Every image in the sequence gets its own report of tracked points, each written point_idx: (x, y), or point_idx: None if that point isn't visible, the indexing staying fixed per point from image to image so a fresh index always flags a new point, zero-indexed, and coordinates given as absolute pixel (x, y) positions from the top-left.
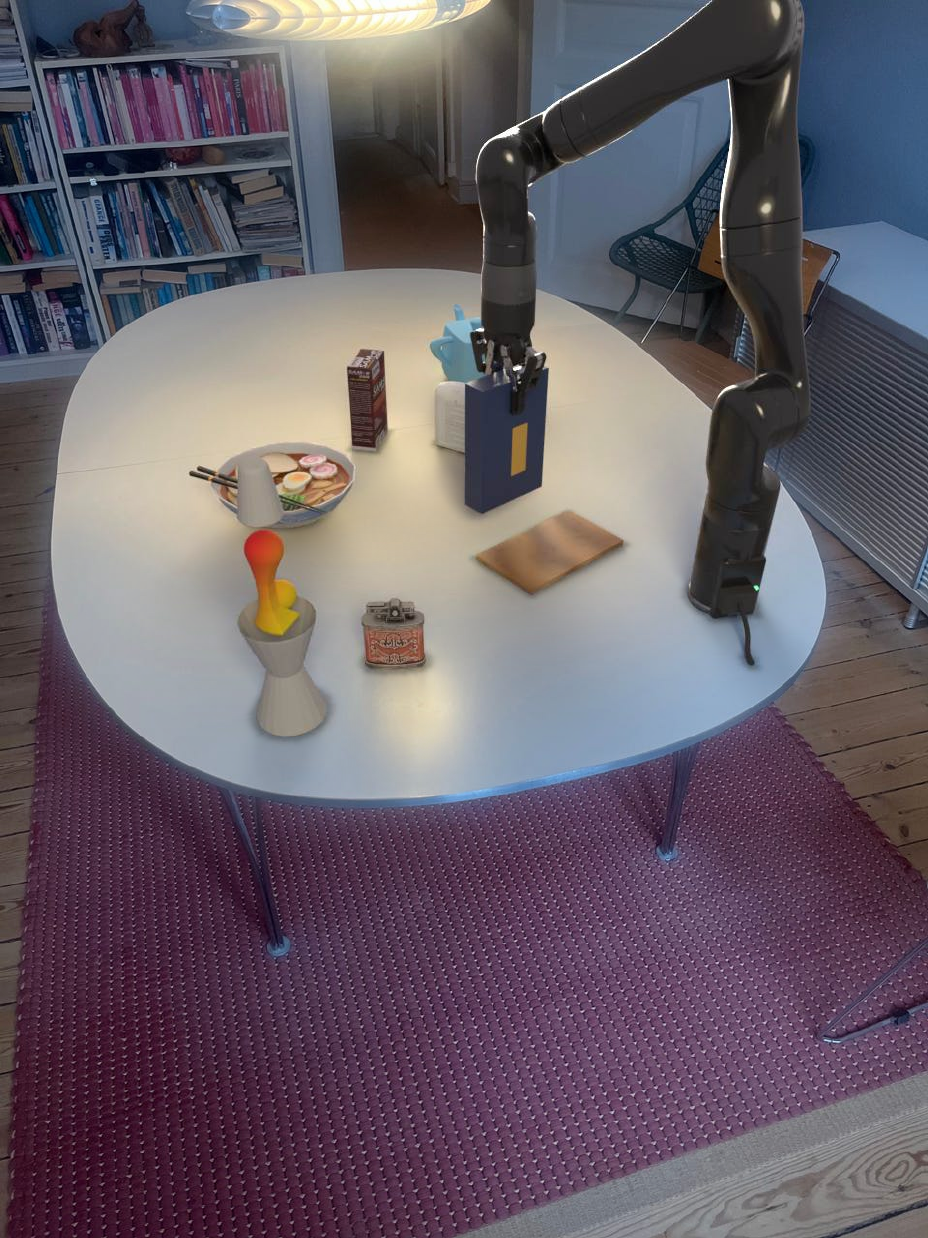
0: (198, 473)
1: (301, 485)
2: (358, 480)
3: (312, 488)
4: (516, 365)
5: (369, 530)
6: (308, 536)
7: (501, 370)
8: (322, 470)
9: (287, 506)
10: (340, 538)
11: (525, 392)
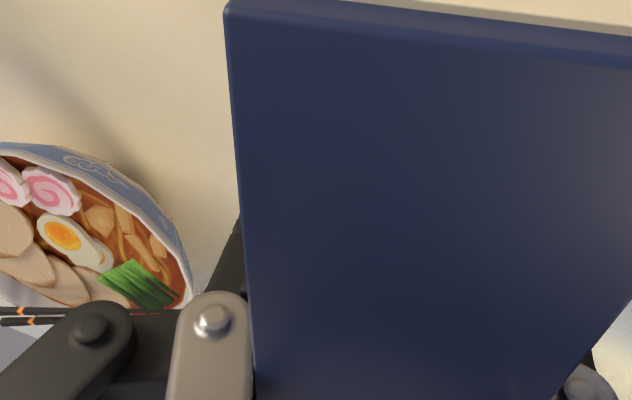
0: (11, 323)
1: (97, 252)
2: (29, 43)
3: (107, 236)
4: (266, 273)
5: (229, 163)
6: (184, 224)
7: (262, 386)
8: (52, 196)
9: (150, 292)
10: (220, 204)
11: (593, 367)
